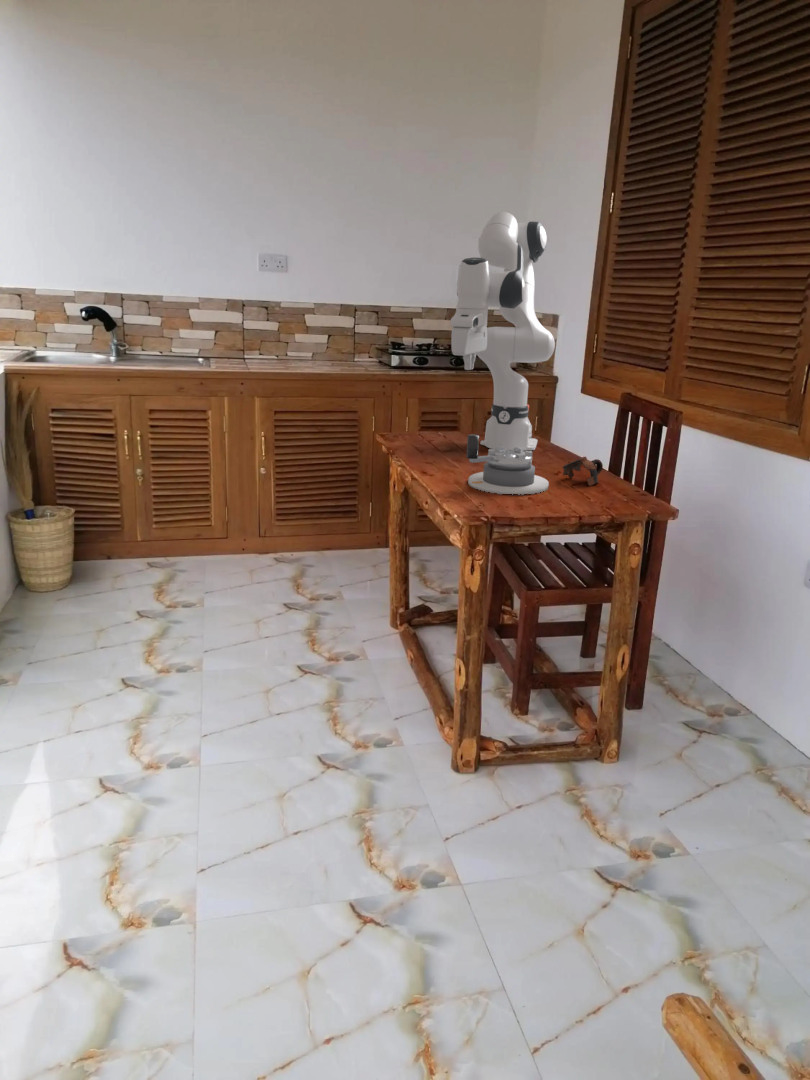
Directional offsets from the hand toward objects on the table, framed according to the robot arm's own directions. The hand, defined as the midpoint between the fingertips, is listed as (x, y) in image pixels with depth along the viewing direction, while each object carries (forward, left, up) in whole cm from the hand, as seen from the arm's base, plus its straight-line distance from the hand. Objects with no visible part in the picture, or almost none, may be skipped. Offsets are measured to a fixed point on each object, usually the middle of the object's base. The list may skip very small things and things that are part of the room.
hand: (469, 369), depth 229 cm
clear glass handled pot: (+14, +15, -24) cm, 31 cm away
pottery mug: (-4, +35, -30) cm, 46 cm away
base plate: (+11, +17, -29) cm, 35 cm away
